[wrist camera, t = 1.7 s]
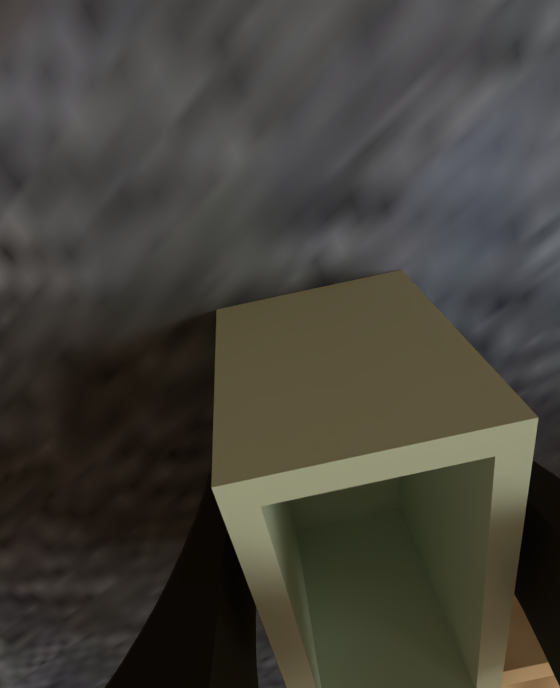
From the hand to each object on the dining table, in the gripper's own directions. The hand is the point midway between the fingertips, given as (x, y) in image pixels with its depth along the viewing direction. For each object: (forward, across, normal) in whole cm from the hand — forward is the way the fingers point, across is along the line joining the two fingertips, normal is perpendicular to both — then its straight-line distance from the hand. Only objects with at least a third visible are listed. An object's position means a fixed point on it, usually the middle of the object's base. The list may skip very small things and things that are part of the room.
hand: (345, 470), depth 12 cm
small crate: (+2, 0, 0) cm, 2 cm away
